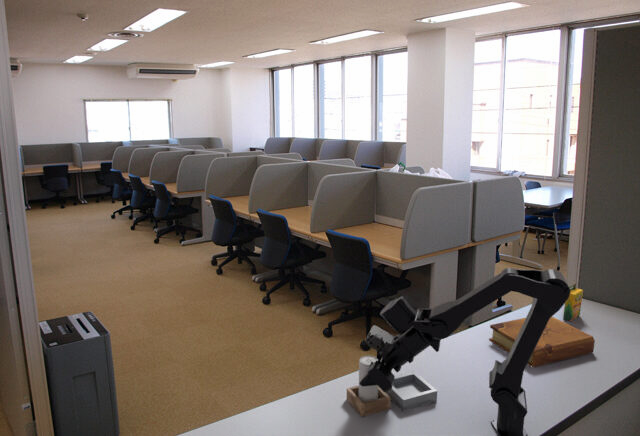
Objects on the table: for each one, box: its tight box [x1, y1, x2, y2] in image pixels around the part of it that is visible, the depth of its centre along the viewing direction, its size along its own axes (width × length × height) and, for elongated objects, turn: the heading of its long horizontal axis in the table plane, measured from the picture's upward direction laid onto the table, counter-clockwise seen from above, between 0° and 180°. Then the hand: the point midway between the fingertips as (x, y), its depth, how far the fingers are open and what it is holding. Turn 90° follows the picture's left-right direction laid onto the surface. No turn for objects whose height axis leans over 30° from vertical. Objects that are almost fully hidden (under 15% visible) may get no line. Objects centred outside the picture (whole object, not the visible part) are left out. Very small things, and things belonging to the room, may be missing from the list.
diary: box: [488, 316, 596, 368], centre depth 154 cm, size 23×19×6 cm
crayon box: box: [562, 282, 584, 322], centre depth 173 cm, size 7×3×12 cm, turn 131°
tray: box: [385, 371, 438, 412], centre depth 128 cm, size 10×10×3 cm
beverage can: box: [358, 355, 378, 403], centre depth 124 cm, size 5×5×12 cm
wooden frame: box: [346, 384, 392, 417], centre depth 125 cm, size 8×8×3 cm
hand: (363, 379), depth 124 cm, fingers closed on beverage can, 5 cm apart
